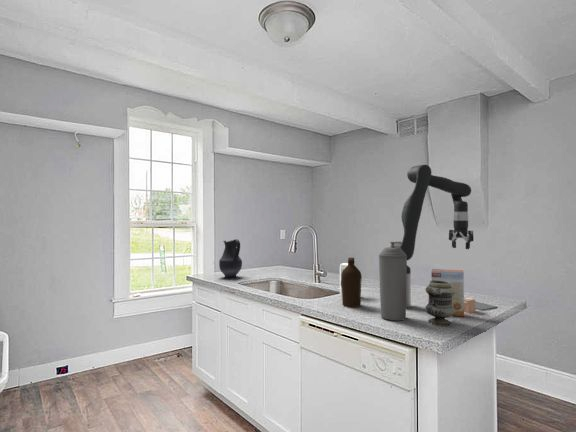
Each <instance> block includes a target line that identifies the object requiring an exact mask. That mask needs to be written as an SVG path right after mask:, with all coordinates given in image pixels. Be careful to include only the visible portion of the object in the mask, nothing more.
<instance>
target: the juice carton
mask: <svg viewBox="0 0 576 432" xmlns="http://www.w3.org/2000/svg"><path fill="white" fill-rule="evenodd" d="M354 265H355V266H356V263H354ZM347 266H348V262H342V263H340V264H339V295H340V297H342V283H341V274H342V271H343V270H344V269H345V268H346V267H347ZM356 267H357V266H356Z"/></svg>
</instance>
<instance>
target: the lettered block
mask: <svg viewBox="0 0 576 432" xmlns="http://www.w3.org/2000/svg"><path fill="white" fill-rule="evenodd" d="M475 302H476V299H475V298H470V297H464V313H466V314H471V313H476V309H475Z"/></svg>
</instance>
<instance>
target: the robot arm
mask: <svg viewBox="0 0 576 432" xmlns="http://www.w3.org/2000/svg"><path fill="white" fill-rule="evenodd" d="M406 173H407V174H406V175H407V179H408V180H409V182H411V183H412V184H415V185H414V188H413V190H412V191H411V193H410V195H408V198H407V199H406V201H405V202H404V205H403V207H402V212H401V223H402V227H403V237H402V240H401V241H394V242H395V243H394V246H395V247H398V248H401V249H402V250H403V252H405V254H406V255H407V261H410V260H411V259H412V257H413V256H414V252H415V247H416V246H415V245H416V239H417V234H418V233H417V232H418V227H419V223H420V219H421V216H422V211H423V205H424V201H425V197H426V193H427V190H428V188H429V187H431V188H434V189H438V190H440V191H443V192H445V193H449V194H451V199H452V203H453V229H449V230H448V241H451V248H452V249H456V248H457V241H458V239H460V238H461V239H463V240H464V241H465V250H470V248H471V242H474V230H469V213H468V211H469V208H468V206H469V205H468V202H467V201H465V200H463V199H462V198H467V197H468V196H470V195H471V193H472V187H471V186H470V185H469V184H467V183H464V182H461V181H460V182H459V181H454V180H452V179H449V178H446V177H444V176H438V175H432V168H431V167H430V166H429V164H421V165H420V164H419V165H415V166H412V167H410V168H409V169H408V170H407V172H406ZM411 275H412V274H411V267H410V266H409V265H407V282H406V309H407V308H411V307H412V305H411V304H412V302H411V301H412V299H411V298H412V297H411V295H412V286H411V285H412V283H411V281H412V280H411Z"/></svg>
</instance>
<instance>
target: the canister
mask: <svg viewBox="0 0 576 432" xmlns="http://www.w3.org/2000/svg"><path fill="white" fill-rule="evenodd" d="M395 242H396V241H390V242H389V243H390V246H388V247H385V248H383V249H382V250H381V252H380V253H378V263H379V264H378V268H379V269H378V273H379V297H380V299H379V301H380V316H381V318H382V317H383V318H382V319H384V318H385V319H384V320H387V319H390V320H389V321H393V320H399V321H404V320H406V317H407V313H406V312H407V308H406V282H407V266H408V264H407V263H408V260H407V255H406V254H405V252H403V250H402V249H401V248H398V247H395V246H394V243H395ZM403 319H404V320H403Z"/></svg>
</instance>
